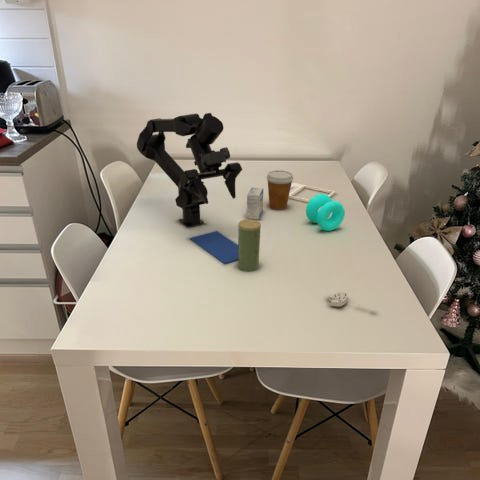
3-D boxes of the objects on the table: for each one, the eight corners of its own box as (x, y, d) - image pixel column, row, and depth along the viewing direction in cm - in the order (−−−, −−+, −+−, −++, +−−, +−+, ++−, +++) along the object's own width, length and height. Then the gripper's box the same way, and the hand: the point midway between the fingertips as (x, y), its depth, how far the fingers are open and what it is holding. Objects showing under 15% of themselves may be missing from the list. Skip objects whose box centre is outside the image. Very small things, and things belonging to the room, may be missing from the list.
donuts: (318, 234, 159) (322, 204, 154) (302, 222, 167) (305, 194, 161) (344, 229, 163) (348, 200, 157) (327, 218, 170) (331, 190, 165)
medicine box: (259, 220, 168) (260, 195, 163) (246, 218, 169) (247, 194, 164) (262, 211, 174) (263, 187, 170) (250, 210, 175) (251, 186, 170)
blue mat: (189, 239, 154) (189, 238, 154) (216, 232, 159) (216, 231, 159) (224, 264, 141) (224, 263, 141) (252, 255, 146) (252, 254, 145)
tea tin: (236, 261, 142) (237, 219, 135) (257, 260, 143) (259, 219, 136) (238, 271, 137) (239, 228, 130) (259, 271, 138) (262, 228, 131)
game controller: (328, 295, 128) (330, 287, 126) (373, 302, 126) (375, 293, 124) (326, 306, 123) (328, 298, 122) (373, 313, 121) (375, 304, 120)
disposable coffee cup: (293, 204, 181) (296, 171, 174) (287, 213, 174) (290, 179, 167) (269, 200, 184) (270, 168, 177) (261, 209, 176) (263, 176, 169)
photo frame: (293, 182, 198) (335, 190, 190) (293, 184, 198) (334, 193, 191) (276, 192, 187) (320, 202, 180) (276, 195, 188) (319, 205, 181)
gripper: (182, 142, 135) (201, 193, 134) (239, 134, 143) (258, 182, 142) (171, 163, 145) (189, 211, 144) (226, 154, 153) (243, 200, 152)
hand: (221, 200), depth 145 cm, fingers open, 9 cm apart
